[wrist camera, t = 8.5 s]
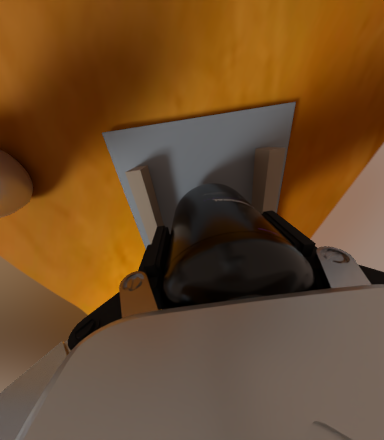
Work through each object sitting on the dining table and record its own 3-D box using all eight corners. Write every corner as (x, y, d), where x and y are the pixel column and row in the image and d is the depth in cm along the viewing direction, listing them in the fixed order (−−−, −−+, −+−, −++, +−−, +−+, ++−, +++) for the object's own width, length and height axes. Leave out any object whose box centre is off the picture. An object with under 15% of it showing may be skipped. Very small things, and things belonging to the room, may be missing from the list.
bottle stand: (107, 133, 13) (83, 130, 10) (287, 104, 12) (322, 92, 9) (154, 262, 20) (149, 283, 17) (266, 247, 20) (280, 266, 17)
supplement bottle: (237, 169, 12) (714, 403, 1) (249, 233, 15) (406, 454, 4) (161, 196, 13) (35, 478, 2) (187, 252, 16) (192, 476, 5)
